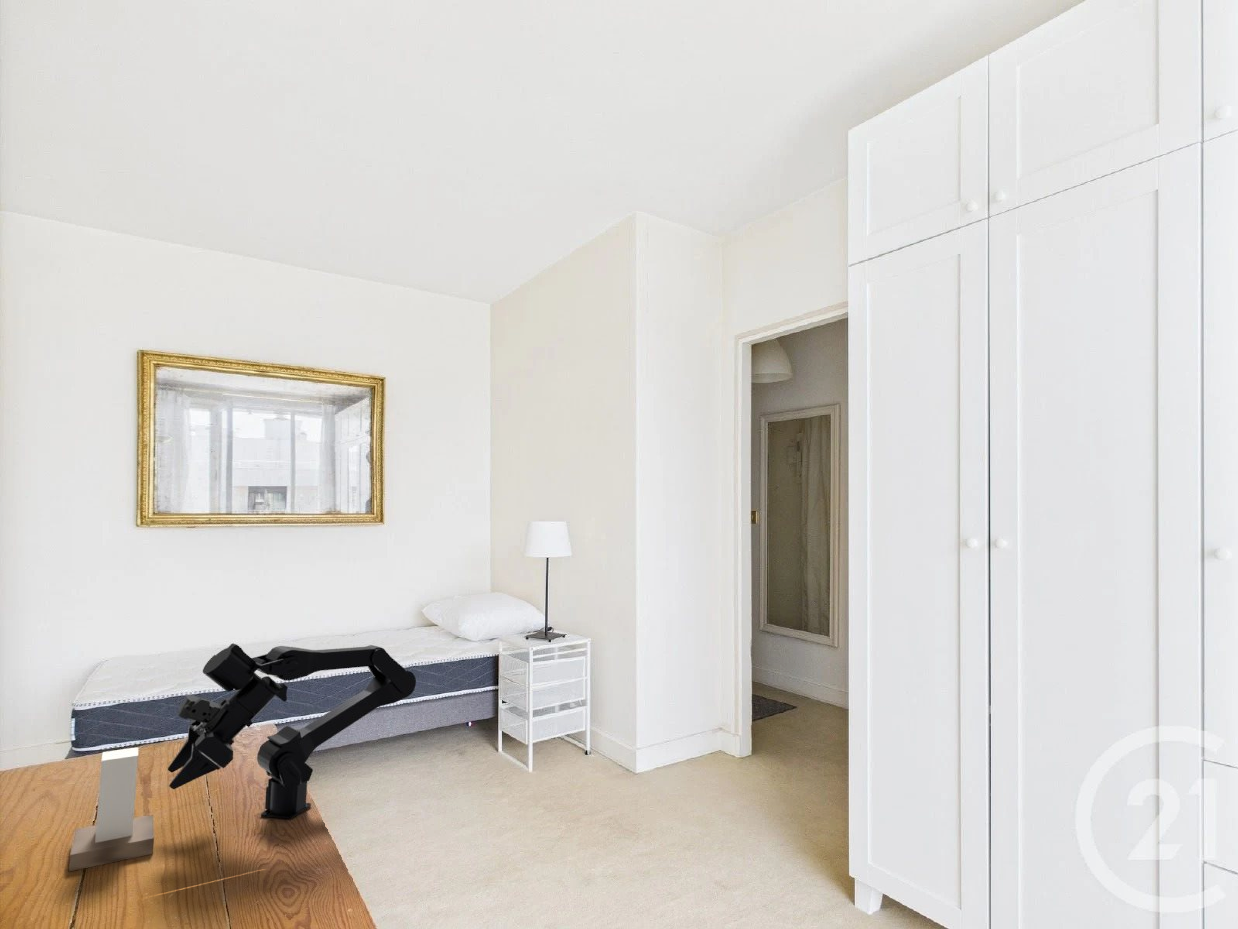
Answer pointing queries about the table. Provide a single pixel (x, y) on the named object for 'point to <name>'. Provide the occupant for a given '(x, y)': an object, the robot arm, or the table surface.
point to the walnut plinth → (111, 845)
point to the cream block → (117, 794)
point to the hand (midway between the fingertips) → (170, 779)
